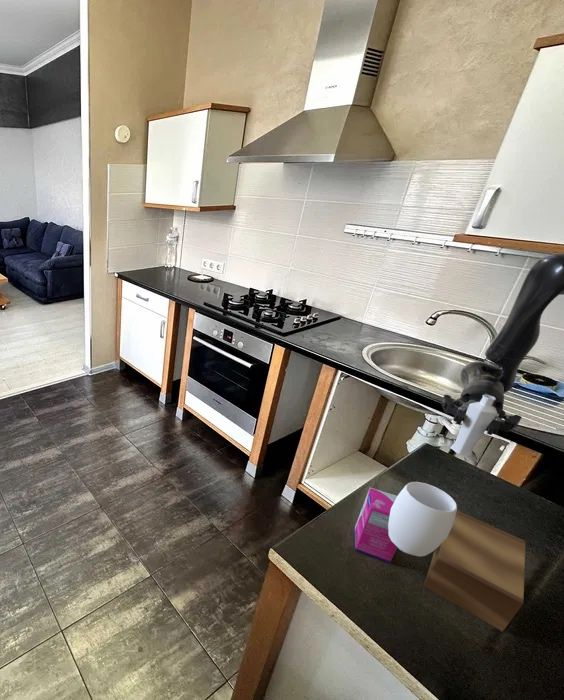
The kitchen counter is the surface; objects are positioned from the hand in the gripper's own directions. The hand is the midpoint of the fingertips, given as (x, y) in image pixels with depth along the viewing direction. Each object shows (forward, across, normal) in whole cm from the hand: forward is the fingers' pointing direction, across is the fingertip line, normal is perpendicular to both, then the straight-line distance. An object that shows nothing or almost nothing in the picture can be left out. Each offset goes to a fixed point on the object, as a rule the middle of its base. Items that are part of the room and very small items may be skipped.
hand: (475, 425), depth 83 cm
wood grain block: (+29, +6, +16) cm, 34 cm away
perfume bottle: (-3, 0, +9) cm, 9 cm away
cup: (+42, -4, +16) cm, 45 cm away
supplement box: (+35, -8, +16) cm, 39 cm away
